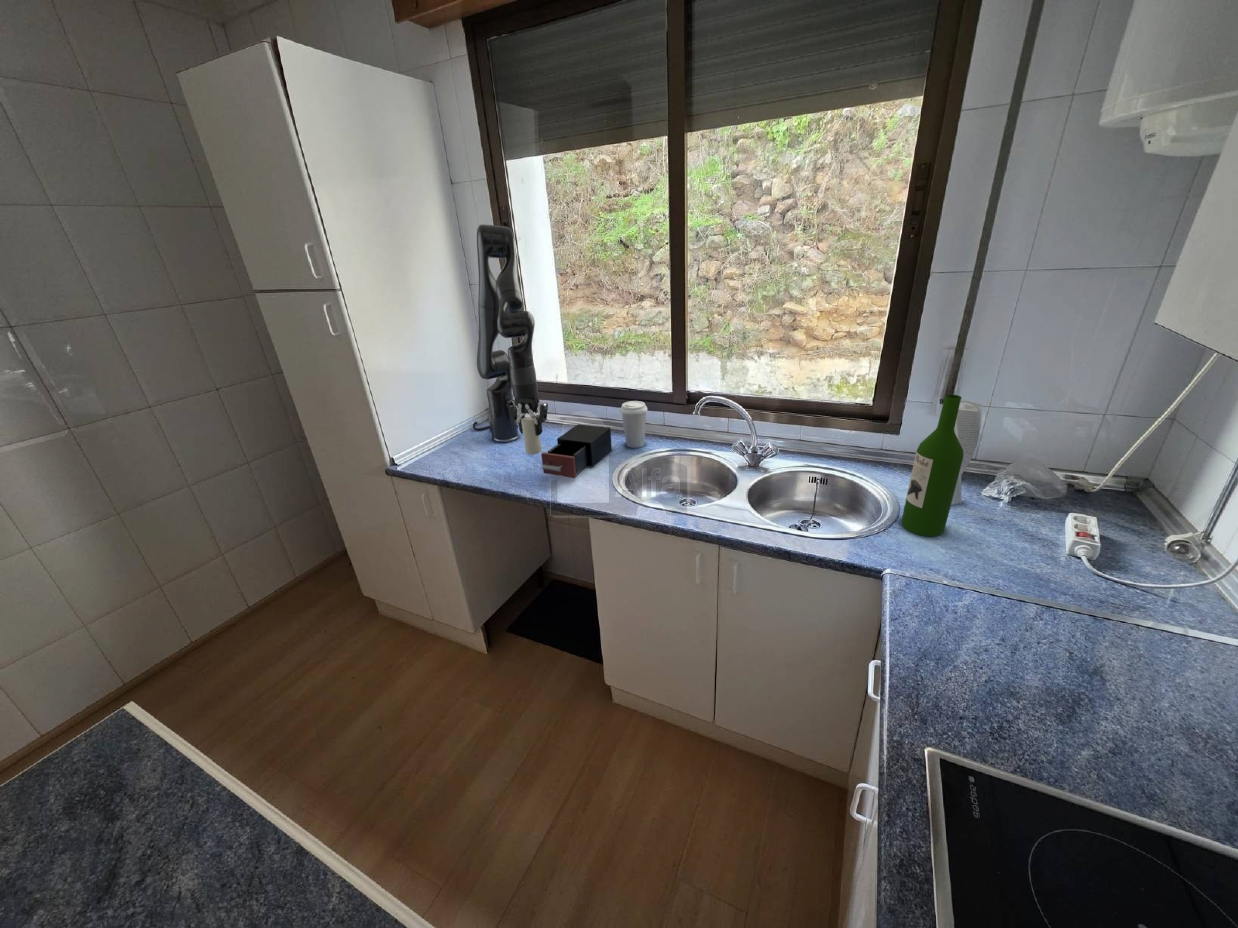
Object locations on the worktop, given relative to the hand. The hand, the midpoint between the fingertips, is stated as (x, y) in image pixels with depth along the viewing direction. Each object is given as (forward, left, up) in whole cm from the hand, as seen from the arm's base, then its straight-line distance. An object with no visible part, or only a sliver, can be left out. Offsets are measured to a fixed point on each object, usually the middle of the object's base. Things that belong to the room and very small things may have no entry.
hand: (531, 433), depth 153 cm
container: (0, 0, -6) cm, 6 cm away
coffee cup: (+22, +31, -13) cm, 40 cm away
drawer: (+10, +3, -12) cm, 16 cm away
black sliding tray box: (+10, +16, -13) cm, 23 cm away
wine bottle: (+109, +3, -13) cm, 110 cm away
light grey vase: (+115, +19, -13) cm, 117 cm away
